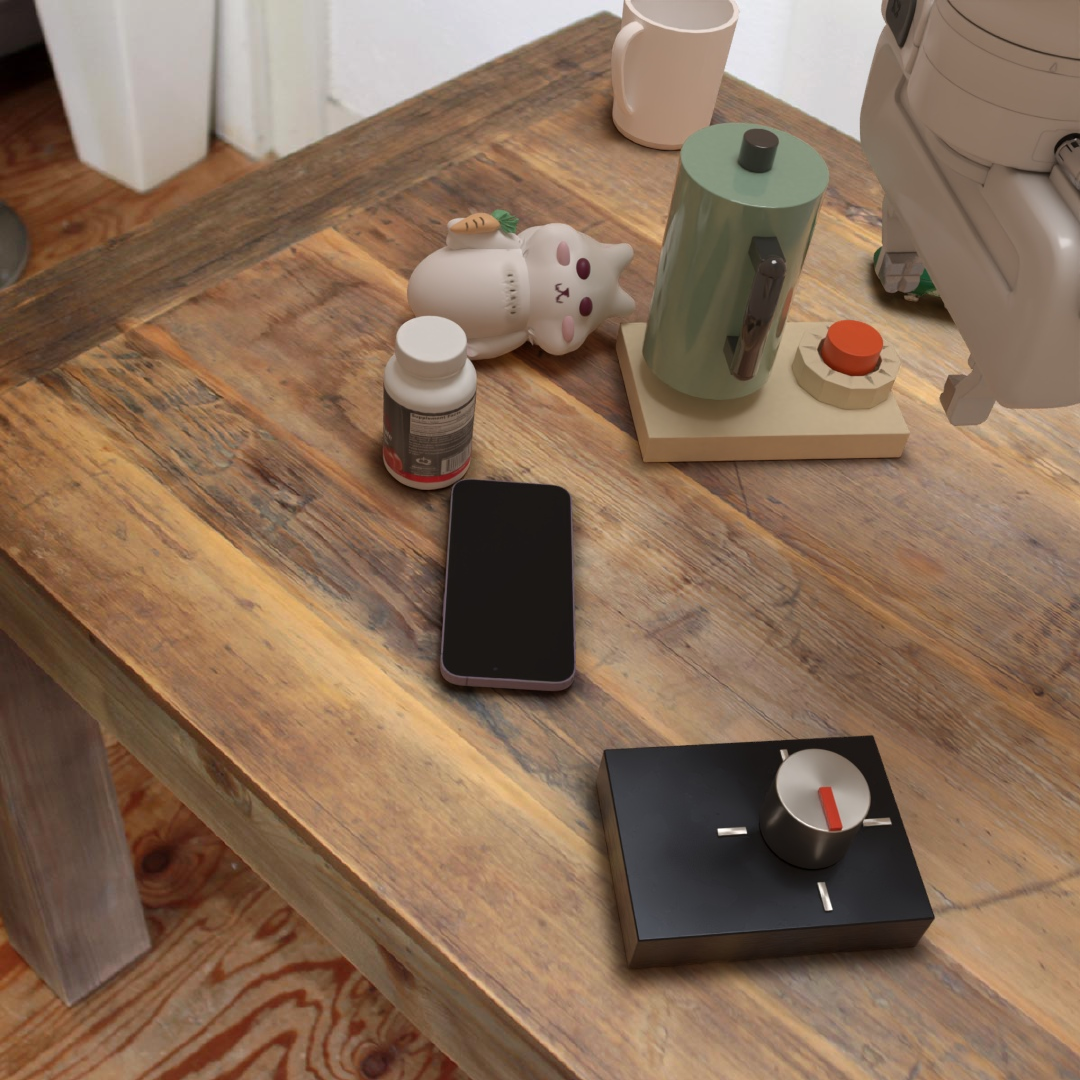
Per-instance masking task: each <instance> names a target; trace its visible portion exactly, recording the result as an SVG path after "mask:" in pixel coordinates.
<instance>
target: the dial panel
mask: <svg viewBox="0 0 1080 1080" xmlns="http://www.w3.org/2000/svg"><path fill="white" fill-rule="evenodd" d="M806 749H822V750H827V751H831V752H834V753H836V754H838V755H840V756H842V757H844V758H846V759H847V760H849V761H850V762H851V763H852V764H853V765H855V766H856V767H857V768H858V770H859V771H860V772H861V773H862V775H863V776H864V778H865V780H866V782H867V784H868V787H869V791H870V798H871V801H870V808H869V811H868V813H867V815H866V817H865V819H864V821H863V823H862V824H861V826H860V828H859V830H858V832H857V834H856V835H855V837H854V839H853V841H852V843H851V845H850V846H849V848H848V850H847V852H846V853H845V855H844V856H843V857H842V858H841V859H840V860H839V861H838V862H836V863H835V864H833V865H831V866H828V867H825V868H819V869H807V868H801V867H798V866H795V865H792V864H790V863H788V862H786V861H785V860H783V859H781V858H780V857H779V856H778V855H776V854H775V853H774V852H773V851H772V850H771V848H770V847H769V846H768V845H767V843H766V841H765V840H764V837H763V835H762V832H761V829H760V823H759V817H760V811H761V808H762V806H763V803H764V801H765V799H766V796H767V794H768V792H769V790H770V787H771V785H772V783H773V780H774V778H775V776H776V773H777V771H778V769H779V767H780V765H781V764H782V762H783V761H784V760H785V759H786V758H787V757H789V756H790V755H792V754H794V753H796V752H798V751H801V750H806ZM595 784H596V791H597V796H598V802H599V808H600V813H601V819H602V825H603V829H604V836H605V842H606V847H607V854H608V859H609V865H610V870H611V878H612V882H613V888H614V894H615V899H616V906H617V911H618V915H619V923H620V929H621V934H622V940H623V945H624V952H625V956H626V963H627V968H628V969H629V970H633V969H646V968H647V969H648V968H658V967H659V968H660V967H670V966H683V965H696V964H708V963H720V962H721V963H722V962H733V961H735V962H736V961H746V960H758V959H772V958H782V957H783V958H785V957H796V956H807V955H808V956H809V955H821V954H833V953H845V952H846V953H847V952H859V951H872V950H883V949H895V948H896V949H897V948H908V947H909V948H910V947H916V946H917V945H918V943H920V940H921V939H922V938H923V936H924V935H925V934H926V932H927V931H928V929H929V928H930V927H931V925H932V924H933V922H934V921H935V919H936V916H935V913H934V910H933V907H932V904H931V902H930V898H929V895H928V893H927V889H926V887H925V884H924V883H925V882H924V881H923V878H922V875H921V871H920V869H919V865H918V863H917V860H916V857H915V854H914V851H913V848H912V845H911V842H910V839H909V836H908V833H907V830H906V827H905V825H904V822H903V818H902V816H901V812H900V809H899V807H898V804H897V801H896V798H895V795H894V792H893V789H892V786H891V783H890V780H889V776H888V775H887V771H886V768H885V765H884V761H883V759H882V756H881V754H880V751H879V748H878V744H877V741H876V739H875V736H874V735H873V734H869V735H850V736H848V735H847V736H831V737H830V736H828V737H815V738H814V737H812V738H792V739H773V740H758V741H757V740H755V741H737V742H720V743H717V742H716V743H699V744H683V745H680V744H679V745H665V746H663V745H662V746H646V747H628V748H627V747H626V748H610V749H603V752H602V755H601V759H600V764H599V768H598V772H597V776H596V780H595Z"/></svg>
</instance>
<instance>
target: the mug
mask: <svg viewBox="0 0 1080 1080" xmlns="http://www.w3.org/2000/svg"><path fill="white" fill-rule="evenodd" d="M740 12H741V11H740V8H739V5H738V2H736V0H623V5H622V15H621V25H620V30H619V32H618V33H617V34H616V36H615V39H614V42H613V44H612V51H611V56H610V57H611V58H610V71H611V72H610V73H611V74H610V76H611V83H612V84H611V85H612V92H613V103H612V114H611V115H612V116H611V117H612V121H613V124H614V126H615V127H616V129H617V131H618V132H619V133H620V134H621V135H622V136H624V137H625V138H626V139H628V140H630V141H631V142H633V143H636V144H638V145H640V146H643V147H646V148H651V149H655V150H665V151H677V150H681V148H682V146H683V144H684V142H685V141H686V139H687V138H688V137H689V136H690V135H692V134H693V133H695V132H696V131H698V130H700V129H702V128H705V127H708V126H711V122H712V118H713V114H714V110H715V107H716V103H717V99H718V95H719V91H720V88H721V84H722V80H723V77H724V73H725V69H726V66H727V61H728V58H729V54H730V50H731V47H732V44H733V39H734V36H735V32H736V29H737V23H738V20H739V17H740Z"/></svg>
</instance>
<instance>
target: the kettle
mask: <svg viewBox="0 0 1080 1080" xmlns="http://www.w3.org/2000/svg"><path fill="white" fill-rule="evenodd" d="M829 183H830V171H829V168H828V165H827V163H826V161H825V159H824V158H823V157H822V155H821V154H820V153H819V152H818V151H817V150H816V149H815V148H814V147H813V146H811V145H810V144H809V143H807V142H805V141H804V140H802V138H799V137H797V136H795V135H793V134H791V133H788V132H787V131H784V130H781V129H778V128H775V127H771V126H767V125H762V124H759V123H749V122H723V123H717V124H712V125H711V124H710V126H708V127H705V128H702V129H700V130H698V131H696V132H695V133H693V134H692V135H690V136H689V137H688V138H687V139H686V141H685V142H684V144H683V146H682V148H681V149H680V152H679V157H678V162H677V167H676V172H675V176H674V182H673V186H672V192H671V196H670V197H671V198H670V200H669V201H670V202H669V207H668V212H667V215H666V222H665V227H664V232H663V236H662V242H661V246H660V247H661V248H660V251H659V255H658V256H659V257H658V260H657V261H658V262H657V268H656V272H655V276H654V282H653V287H652V293H651V297H650V302H649V307H648V312H647V316H646V322H645V323H646V326H645V331H644V336H643V341H642V353H643V357H644V359H645V362H646V364H647V365H648V367H649V369H650V370H651V371H652V372H653V373H654V374H655V375H656V376H657V377H658V378H659V379H660V380H661V381H662V382H664V383H665V384H667V385H668V386H670V387H672V388H674V389H676V390H678V391H680V392H682V393H685V394H688V395H691V396H694V397H699V398H703V399H711V400H729V399H736V398H740V397H744V396H747V395H749V394H752V393H753V392H755V391H757V390H758V389H760V388H761V387H762V386H763V385H764V384H765V383H766V382H767V381H768V379H769V378H770V376H771V373H772V370H773V367H774V363H775V360H776V357H777V353H778V350H779V347H780V343H781V340H782V337H783V333H784V330H785V327H786V323H787V322H788V320H789V316H790V313H791V310H792V306H793V303H794V299H795V297H796V293H797V291H798V286H799V284H800V280H801V278H802V277H801V276H802V273H803V270H804V266H805V263H806V259H807V257H808V253H809V250H810V246H811V244H812V240H813V236H814V233H815V230H816V227H817V223H818V219H819V217H820V213H821V209H822V206H823V203H824V199H825V196H826V193H827V190H828V186H829Z"/></svg>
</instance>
